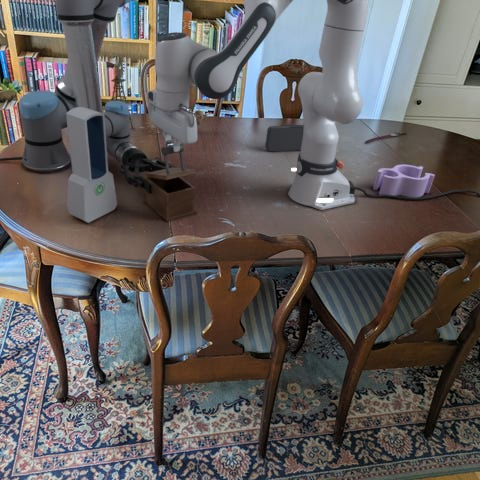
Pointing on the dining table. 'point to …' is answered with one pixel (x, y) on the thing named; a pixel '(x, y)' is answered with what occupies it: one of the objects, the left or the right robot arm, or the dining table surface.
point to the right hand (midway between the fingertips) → (172, 148)
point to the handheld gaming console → (284, 138)
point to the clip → (403, 181)
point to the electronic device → (89, 166)
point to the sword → (384, 137)
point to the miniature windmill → (118, 81)
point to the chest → (171, 197)
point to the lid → (172, 172)
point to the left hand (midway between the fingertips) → (165, 185)
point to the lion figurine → (198, 116)
